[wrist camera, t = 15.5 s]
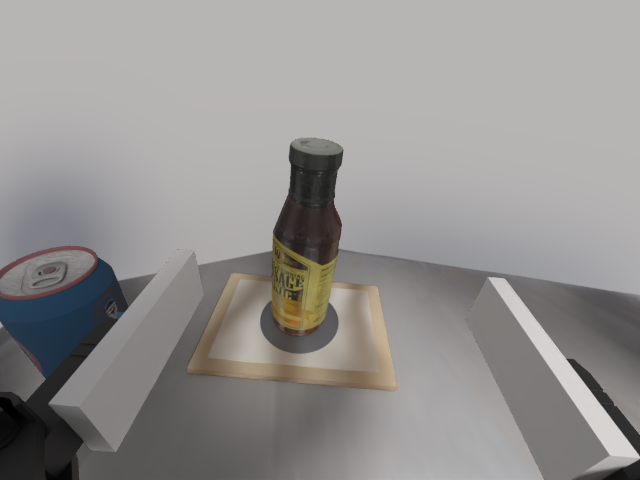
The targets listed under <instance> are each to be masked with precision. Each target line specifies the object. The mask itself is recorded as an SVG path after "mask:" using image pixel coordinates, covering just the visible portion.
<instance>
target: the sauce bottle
mask: <svg viewBox="0 0 640 480" xmlns="http://www.w3.org/2000/svg"><path fill="white" fill-rule="evenodd" d="M342 156H343V148H342V147H341V146H340V145H339V144H337V143H334V142H332V141H329V140H324V139H317V138H300V139H296V140H294V141H293V142H292V143H291V145H290V152H289V161H290V163H291V176H290V188H289V194H288V196H287V199H286V201H285V203H284V206H283V208H282V211H281V213H280V216H279V218H278V221H277V223H276V226H275V228H274V231H273V258H272V303H271V308H272V313H273V320H274V322H275V323H276V326H277V327H278V328H279V329H280V330H282V331H283V332H285V333H287V334H289V335H291V336H297V337H299V336H302V335H309V334H312V333H314V332H315V331H316V330H317V329H319V327H320V326H321V324H322V323H323V321H324V318H325V316H326V312H327V307H328V303H329V298H330V292H331V287H332V282H333V276H334V271H335V266H336V261H337V256H338V245H339V240H340V235H341V227H342V224H341V220H340V217H339V215H338V212H337V211H336V208H335V205H334V198H335V192H334V191H335V184H336V178H337V171H338V169H339V167H340V166H341V163H342Z"/></svg>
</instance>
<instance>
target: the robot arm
mask: <svg viewBox="0 0 640 480" xmlns="http://www.w3.org/2000/svg"><path fill="white" fill-rule="evenodd" d="M203 297H204V292H203V288H202V283H201V279H200V274H199V270H198V265H197V260H196V256H195V251H191V250H179V249H177V250H176V252H175V253H174V254H173V255H172V256H171V258H170V259H169V260H168V261H167V262H166V264H165V265H164V266H163V267H162V268H161V270H160V271H159V272H158V273H157V274H156V275H155V277H154V278H153V279H152V280H151V281H150V283H149V284H148V285H147V286H146V287H145V289H144V290H143V291H142V292H141V293H140V295H139V296H138V297H137V298H136V299H135V301H134V302H133V303H132V304H131V305H130V307H129V308H128V309H127V310H126V311H125V313H124V314H123V315H122V316H121V317H120V319H113V318H107V319H106V320H104V321H103V322H101V323H100V324H98V325H97V326H95V327H94V328H92V329H91V330H90V331H89V332H88V334H87V335H86V336H85V337H84V338H83V339H82V340H81V341H80V342H79V345H78V346H76V347H75V348H74V349H73V350H72V351H71V352H70V353H69V356H68V357H66V358H65V359H64V360H63V361H62V362H61V363H60V364H59V366H58V367H57V368H56V369H55V370H54V371H53V372H52V373H51V374H50V376H49V377H48V378H47V379H46V380H45V381H44V382H43V383H42V384H41V385H40V387H39V388H38V389H37V390H36V391H35V392H34V393H33V394H32V395H31V396H30V398H29V399H28V400H27V401H26V402H24V401H23V400H22V399H21V398H20V397H19V396H17V395H16V394H14V393H12V392H0V480H79V472H78V458H77V456H76V452H77V451H78V449H79V448H80V446H81V445H82V443H83V442H84V443H85V444H86V445H87V447H88V448H89V449H90V450H94V451H105V452H117V450H118V448H119V446H120V445H121V443H122V441H123V439H124V437H125V436H126V434H127V432H128V430H129V428H130V427H131V425H132V423H133V421H134V420H135V418H136V416H137V414H138V412H139V411H140V409H141V407H142V405H143V404H144V402H145V400H146V398H147V396H148V395H149V393H150V391H151V389H152V387H153V386H154V384H155V382H156V380H157V379H158V377H159V375H160V373H161V371H162V370H163V368H164V366H165V364H166V363H167V361H168V359H169V357H170V355H171V354H172V352H173V350H174V348H175V346H176V345H177V343H178V341H179V339H180V338H181V336H182V334H183V332H184V330H185V329H186V327H187V325H188V323H189V321H190V320H191V318H192V316H193V314H194V313H195V311H196V309H197V307H198V305H199V304H200V302H201V300H202V298H203ZM466 321H467V323H468V325H469V327H470V329H471V331H472V333H473V335H474V338H475V340H476V342H477V344H478V346H479V348H480V350H481V352H482V354H483V356H484V358H485V360H486V362H487V364H488V366H489V368H490V370H491V372H492V374H493V376H494V378H495V380H496V382H497V384H498V386H499V388H500V390H501V393H502V395H503V397H504V399H505V401H506V403H507V405H508V407H509V409H510V411H511V413H512V415H513V417H514V419H515V421H516V423H517V425H518V427H519V429H520V431H521V433H522V435H523V437H524V439H525V441H526V443H527V445H528V447H529V450H530V452H531V454H532V456H533V458H534V460H535V462H536V464H537V466H538V468H539V470H540V472H541V474H542V476H543V478H544V480H640V435H639V434H638V432H637V431H636V430H635V429H634V427H633V426H632V425H631V424H630V422H629V421H628V420H627V419H626V418H625V416H624V415H623V414H622V413H621V411H620V410H619V409H618V408H617V406H614V403H613V401H612V400H611V399H610V398H609V396H608V395H607V394H606V393H604V392H603V389H602V388H601V386H600V385H599V384H598V383H597V381H596V380H595V379H594V378H593V376H592V375H591V374H590V373H589V372H588V371H587V370H585V369H584V368H583V367H582V366H581V365H580V364H578V363H577V362H576V361H575V360H574V359H566V358H565V357H564V356H563V354H562V353H561V352H560V350H559V349H558V348H557V347H556V345H555V344H554V343H553V341H552V340H551V339H550V337H549V336H548V335H547V333H546V332H545V331H544V329H543V328H542V327H541V325H540V324H539V323H538V322H537V320H536V319H535V318H534V316H533V315H532V314H531V312H530V311H529V310H528V308H527V307H526V306H525V304H524V303H523V302H522V300H521V299H520V298H519V297H518V295H517V294H516V293H515V291H514V290H513V289H512V287H511V286H510V285H509V283H508V282H507V281H506V279H504V278H493V277H487V279H486V281H485V283H484V285H483V287H482V289H481V290H480V292H479V294H478V296H477V298H476V300H475V302H474V304H473V306H472V307H471V309H470V311H469V313H468V315H467V317H466Z"/></svg>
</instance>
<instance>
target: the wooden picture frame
mask: <svg viewBox="0 0 640 480" xmlns="http://www.w3.org/2000/svg"><path fill="white" fill-rule="evenodd" d="M271 303H272V276H261V275H250V274H239V273H232V274H231V276H230V278H229V280H228V282H227V284H226V286H225V289H224V291H223V293H222V295H221V297H220V299H219V301H218V303H217V305H216V308H215V310H214V312H213V314H212V316H211V318H210V320H209V322H208V324H207V327H206V329H205V331H204V333H203V335H202V337H201V339H200V341H199V343H198V345H197V348H196V350H195V352H194V354H193V356H192V358H191V360H190V362H189V364H188V367H187V371H188V373H192V374H204V375H215V376H227V377H238V378H250V379H261V380H273V381H284V382H296V383H307V384H319V385H330V386H342V387H353V388H365V389H376V390H388V391H395V390H396V388H397V384H396V379H395V374H394V369H393V364H392V359H391V354H390V348H389V343H388V338H387V333H386V328H385V323H384V318H383V313H382V308H381V303H380V297H379V292H378V287H377V286H369V285H358V284H347V283H336V282H332V287H331V292H330V298H329V303H328V307H327V312H326V316H325V318H324V321H323V323H322V324H321V326H320V327H319V329H317V330H316V331H315V332H314V333H312V334H309V335H302V336H299V337H297V336H291V335H289V334H287V333H285V332H283V331H282V330H280V329H279V328H278V327H277V326H276V323H275V322H274V320H273V313H272V308H271Z"/></svg>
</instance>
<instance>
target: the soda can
mask: <svg viewBox="0 0 640 480" xmlns="http://www.w3.org/2000/svg"><path fill="white" fill-rule="evenodd" d="M128 308H129V307H128V305H127V303H126V300H125V298H124V295H123V293H122V291H121V288H120V286H119V283H118V281H117V279H116V276H115V274H114V271H113V269H112V267H111V266H110V265H109V264H107V263H106V262H104V261H103V260H101V259H100V258H98V257H97V255H96V253H95V252H94V251H92V250H91V249H88V248H85V247H79V246H64V247H56V248H50V249H46V250H42V251H38V252H35V253H32V254H30V255H27V256H25V257H22V258H20V259H18V260H16V261H14V262H12V263H10V264H9V265H7V266H6V267H4V268H2V269H1V270H0V322H1V323H2V325H3V326H4V327H5V328H6V330H7V331H8V332H9V333H10V335H11V336H12V337H13V338H14V340H15V341H16V342H17V343H18V345H19V346H20V347H21V348H22V350H23V351H24V352H25V353H26V355H27V356H28V357H29V358H30V360H31V361H32V362H33V363H34V365H35V366H36V367H37V368H38V370H39V371H40V372H41V373H42V375H43V376H44V377H45V378H46V379H47V378H48V377H49V376H50V374H51V373H52V372H53V371H54V370H55V369H56V368H57V367H58V366H59V364H60V363H61V362H62V361H63V360H64V359H65V358H66V357H68V356H69V353H70V352H71V351H72V350H73V349H74V348H75V347H76V346H78V345H79V342H80V341H81V340H82V339H83V338H84V337H85V336H86V335H87V334H88V332H89V331H90V330H91V329H92V328H94V327H95V326H97V325H98V324H100V323H101V322H103V321H104V320H106V319H107V318H113V319H120V317H121V316H122V315H123V314H124V313H125V311H126V310H127V309H128Z"/></svg>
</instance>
